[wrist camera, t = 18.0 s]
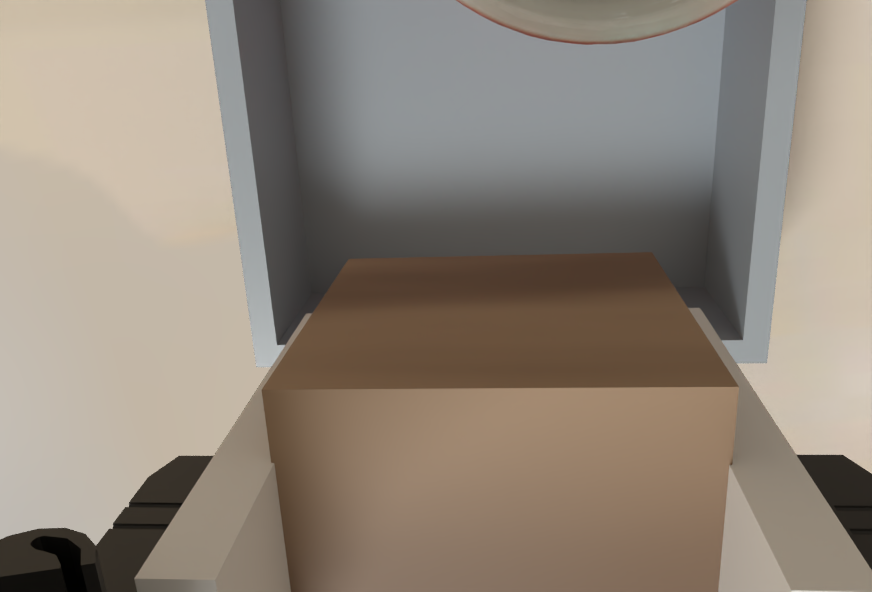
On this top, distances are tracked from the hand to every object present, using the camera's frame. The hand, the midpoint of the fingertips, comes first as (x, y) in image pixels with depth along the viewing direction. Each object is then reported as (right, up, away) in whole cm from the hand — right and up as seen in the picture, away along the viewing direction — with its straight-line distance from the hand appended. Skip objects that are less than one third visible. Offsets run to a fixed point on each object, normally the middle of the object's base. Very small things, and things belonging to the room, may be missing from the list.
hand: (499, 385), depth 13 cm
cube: (0, 0, 0) cm, 1 cm away
